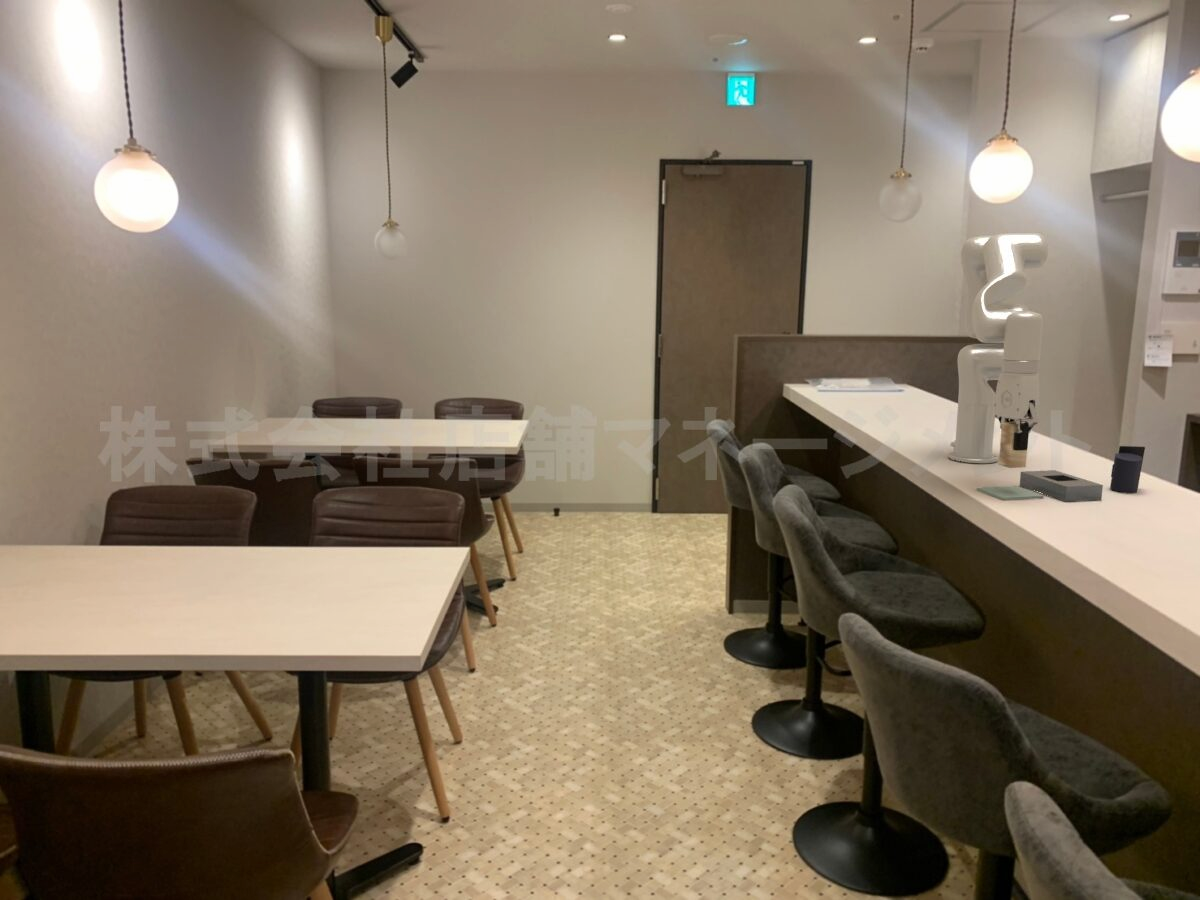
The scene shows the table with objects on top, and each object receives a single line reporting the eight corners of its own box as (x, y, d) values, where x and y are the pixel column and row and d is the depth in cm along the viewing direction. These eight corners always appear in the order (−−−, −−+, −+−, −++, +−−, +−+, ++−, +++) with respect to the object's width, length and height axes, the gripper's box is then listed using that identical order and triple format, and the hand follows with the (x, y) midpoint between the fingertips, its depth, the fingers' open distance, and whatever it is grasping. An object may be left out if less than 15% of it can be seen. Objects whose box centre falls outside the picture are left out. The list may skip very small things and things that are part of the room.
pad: (976, 490, 205) (977, 487, 205) (1015, 488, 207) (1015, 485, 207) (1003, 500, 196) (1003, 497, 195) (1043, 498, 197) (1043, 495, 197)
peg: (998, 464, 201) (1002, 421, 200) (1014, 464, 202) (1018, 421, 200) (1009, 468, 197) (1013, 424, 196) (1025, 467, 198) (1029, 423, 196)
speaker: (1110, 484, 210) (1116, 442, 207) (1138, 488, 207) (1145, 446, 204) (1107, 493, 204) (1114, 450, 201) (1136, 497, 201) (1143, 454, 198)
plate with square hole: (1019, 485, 209) (1020, 471, 209) (1053, 484, 211) (1054, 470, 210) (1065, 502, 194) (1066, 486, 193) (1101, 500, 195) (1102, 484, 195)
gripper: (982, 365, 203) (976, 442, 206) (1029, 371, 187) (1022, 455, 190) (1011, 364, 204) (1005, 441, 208) (1060, 371, 188) (1053, 454, 191)
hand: (1013, 447), depth 199 cm, fingers closed on peg, 4 cm apart
